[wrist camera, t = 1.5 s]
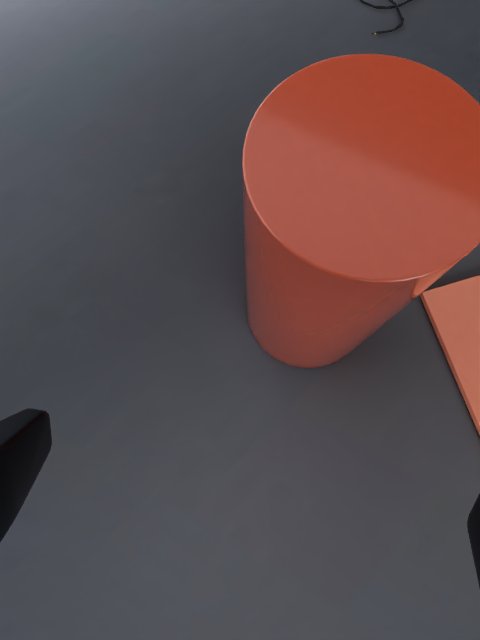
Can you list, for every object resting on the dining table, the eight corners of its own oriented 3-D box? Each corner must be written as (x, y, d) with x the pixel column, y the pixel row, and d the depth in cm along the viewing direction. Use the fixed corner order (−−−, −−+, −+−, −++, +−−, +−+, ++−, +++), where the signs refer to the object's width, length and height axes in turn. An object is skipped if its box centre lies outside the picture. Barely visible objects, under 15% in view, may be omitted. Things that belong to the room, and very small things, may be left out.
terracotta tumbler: (384, 347, 22) (555, 237, 10) (267, 383, 22) (289, 315, 10) (342, 239, 24) (442, 27, 11) (232, 271, 24) (212, 87, 11)
